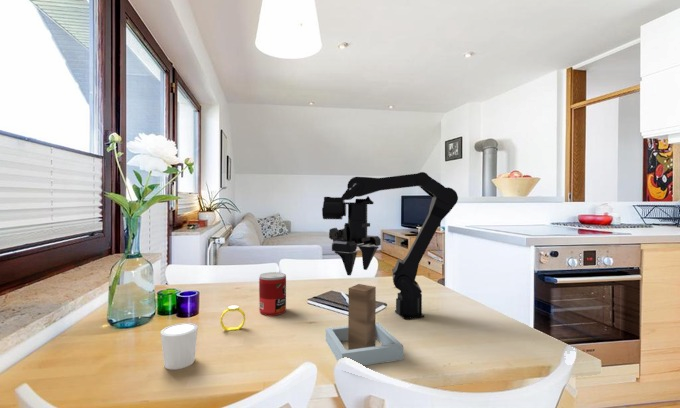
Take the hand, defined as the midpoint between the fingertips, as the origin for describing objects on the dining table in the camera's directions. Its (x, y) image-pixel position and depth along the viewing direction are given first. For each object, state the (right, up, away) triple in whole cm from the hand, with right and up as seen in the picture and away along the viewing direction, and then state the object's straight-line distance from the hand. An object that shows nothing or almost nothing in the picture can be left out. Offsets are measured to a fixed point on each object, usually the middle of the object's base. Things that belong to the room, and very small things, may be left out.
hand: (357, 272), depth 97 cm
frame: (0, -12, -24) cm, 27 cm away
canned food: (-25, -12, +1) cm, 28 cm away
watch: (-33, -12, -13) cm, 37 cm away
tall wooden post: (0, -12, -24) cm, 27 cm away
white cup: (-38, -13, -30) cm, 50 cm away
